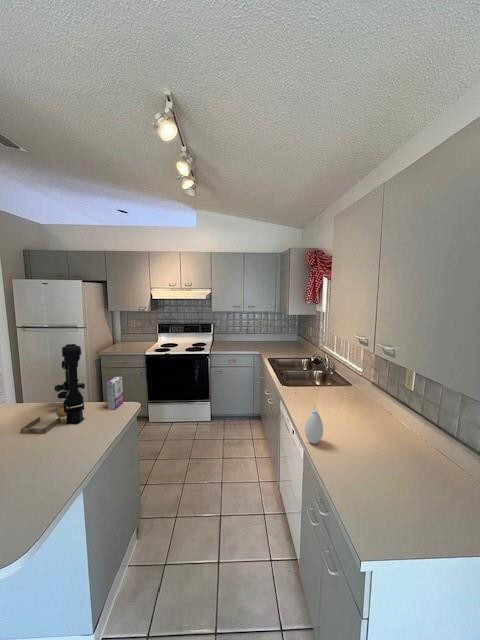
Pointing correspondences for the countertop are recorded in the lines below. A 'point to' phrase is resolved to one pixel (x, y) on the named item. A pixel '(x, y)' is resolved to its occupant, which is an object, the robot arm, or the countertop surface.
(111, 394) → the candy bar box
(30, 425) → the wooden bracket
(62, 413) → the pastry
